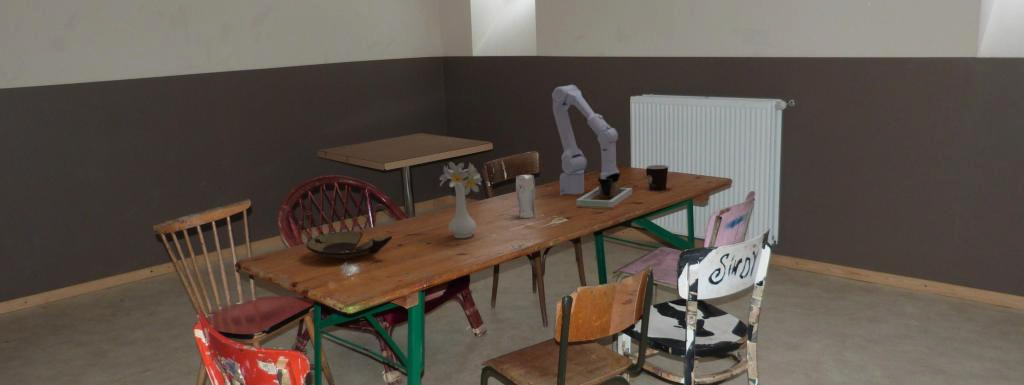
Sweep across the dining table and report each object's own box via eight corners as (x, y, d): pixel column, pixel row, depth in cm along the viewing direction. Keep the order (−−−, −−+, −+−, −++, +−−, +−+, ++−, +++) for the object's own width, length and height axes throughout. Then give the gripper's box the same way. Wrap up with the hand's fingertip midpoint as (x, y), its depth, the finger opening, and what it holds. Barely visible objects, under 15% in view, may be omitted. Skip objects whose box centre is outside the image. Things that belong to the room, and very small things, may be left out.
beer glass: (514, 218, 310) (512, 177, 306) (522, 213, 316) (520, 174, 312) (531, 219, 306) (529, 178, 303) (539, 214, 312) (537, 174, 309)
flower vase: (466, 244, 276) (461, 169, 271) (433, 235, 290) (428, 163, 285) (497, 236, 285) (492, 163, 279) (464, 228, 299) (459, 158, 293)
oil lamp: (351, 242, 288) (349, 220, 287) (405, 256, 267) (403, 233, 265) (293, 257, 273) (290, 234, 272) (345, 274, 252) (342, 249, 250)
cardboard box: (598, 197, 332) (598, 183, 331) (603, 194, 337) (602, 180, 336) (616, 198, 329) (616, 184, 328) (620, 195, 334) (620, 181, 333)
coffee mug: (670, 193, 337) (669, 168, 335) (648, 194, 337) (648, 169, 335) (665, 187, 349) (665, 163, 347) (644, 188, 349) (644, 164, 347)
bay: (576, 207, 321) (576, 199, 320) (598, 194, 342) (598, 186, 342) (612, 209, 314) (612, 201, 314) (632, 195, 336) (632, 188, 335)
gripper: (612, 163, 322) (613, 198, 325) (624, 156, 335) (625, 190, 337) (594, 162, 325) (596, 197, 328) (607, 156, 338) (608, 189, 340)
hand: (609, 193), depth 333 cm, fingers open, 7 cm apart
